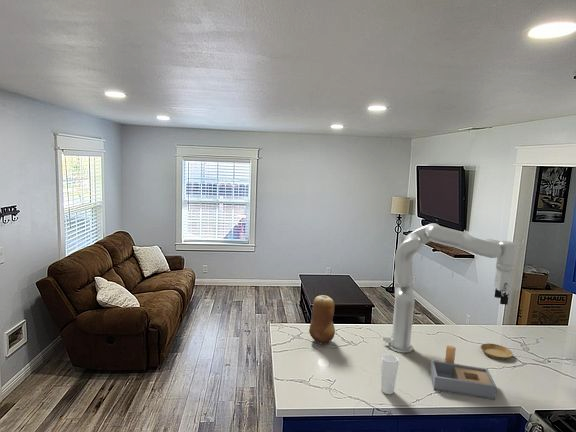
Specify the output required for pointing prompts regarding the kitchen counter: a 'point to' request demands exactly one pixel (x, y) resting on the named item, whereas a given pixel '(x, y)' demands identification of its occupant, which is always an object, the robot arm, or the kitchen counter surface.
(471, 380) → the box
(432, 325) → the kitchen counter surface
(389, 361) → the drinking glass
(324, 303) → the butternut squash
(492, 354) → the plant saucer
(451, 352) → the peg
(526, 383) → the kitchen counter surface
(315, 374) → the kitchen counter surface
